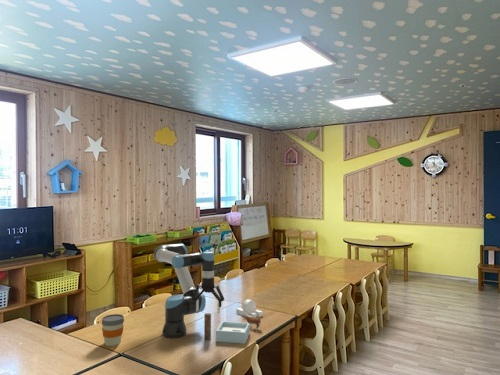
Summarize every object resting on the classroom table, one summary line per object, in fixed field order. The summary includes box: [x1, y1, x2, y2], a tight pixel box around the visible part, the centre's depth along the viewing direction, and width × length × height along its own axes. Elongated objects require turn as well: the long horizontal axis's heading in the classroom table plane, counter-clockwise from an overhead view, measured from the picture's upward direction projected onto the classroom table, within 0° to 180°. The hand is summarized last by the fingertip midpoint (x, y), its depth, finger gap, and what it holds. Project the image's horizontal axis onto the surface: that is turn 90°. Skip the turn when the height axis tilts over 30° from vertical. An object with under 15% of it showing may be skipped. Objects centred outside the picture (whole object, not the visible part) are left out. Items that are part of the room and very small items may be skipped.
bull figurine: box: [243, 314, 261, 331], centre depth 243 cm, size 4×13×8 cm, turn 51°
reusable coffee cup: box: [101, 313, 125, 347], centre depth 218 cm, size 13×13×15 cm
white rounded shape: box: [235, 299, 264, 318], centre depth 269 cm, size 18×10×11 cm, turn 45°
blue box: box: [215, 320, 250, 344], centre depth 227 cm, size 18×16×6 cm
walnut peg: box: [203, 312, 212, 341], centre depth 225 cm, size 4×4×15 cm
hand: (207, 311), depth 225 cm, fingers open, 13 cm apart
